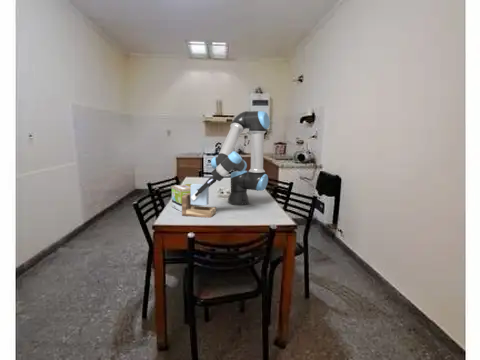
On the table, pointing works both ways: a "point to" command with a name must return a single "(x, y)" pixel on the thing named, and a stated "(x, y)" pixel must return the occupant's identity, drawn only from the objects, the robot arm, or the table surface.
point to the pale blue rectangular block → (203, 197)
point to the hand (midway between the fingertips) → (193, 198)
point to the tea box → (179, 195)
